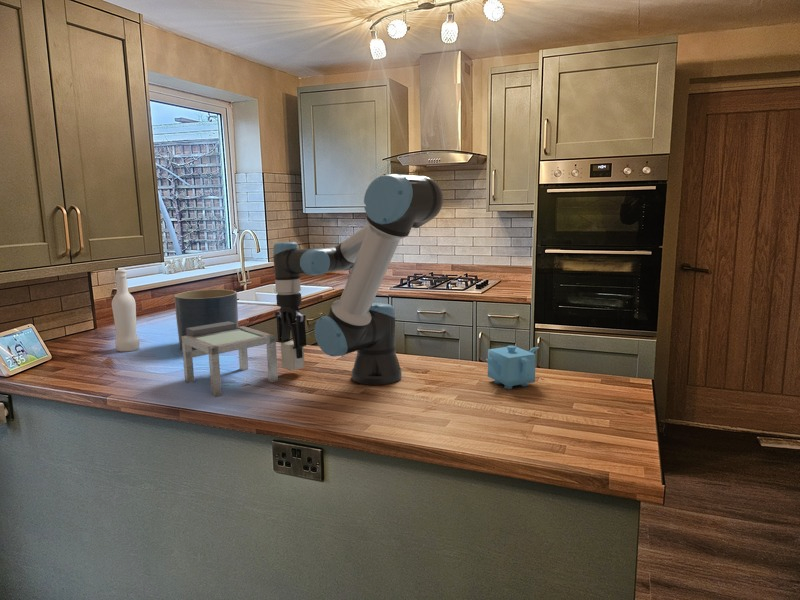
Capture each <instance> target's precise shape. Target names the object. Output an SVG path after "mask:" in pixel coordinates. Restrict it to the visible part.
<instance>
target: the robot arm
mask: <svg viewBox="0 0 800 600" xmlns="http://www.w3.org/2000/svg"><path fill="white" fill-rule="evenodd" d="M443 196H444V195H443V191H442V189H441V186H440V185H439V184H438V183H437V181H436V180H434V179H432V178H430V177H428V176H425V175H409V174H400V173H390V174H384V175H380V176H378V177H376V178H375V179H373V181H371V182H370V184H368V186H367V188H366V190H365V193H364V196H363V204H364V205H365V206H364V212H365V214H366V217H365V221H366V222H367V225H365V226H363V227H362V228H360V229H359V230H357V231H356V232H355V233H353V234H352V235H350V236H349V237H347V238H346V239H345V240H343V241H342V242H340V243H339V244H337V245H335V246H330V247H329V246H328V247H319V248H318V247H317V248H305V249H303V248H302V249H301V248H300V249H299V245H298V243H297V242H295V241H288V242H287V241H284V242H282V241H281V242H275V243H274V244H273V250H272V251H273V255H272V259H273V268H274V269H273V270H274V281H275V283H274V284H275V286H274V287H275V292H276V295H275V296H276V297H275V298H276V306H277V307H280V309H279V310H278V311H275V312H274V314H275V317H276V318H275V319H276V330H277V331H276V332H277V341H278V343H280V344H281V343H283V342H288V341H291V336H292V340H293V342H294V347H292V348H293V358H294V369H296V370H298V369H299V368H300V369H303V360H302V357H303V355H302V347H305V346H307V335H306V334H307V333H306V318H307V317H306V316H307V315H306V314H305V313H303V314H301V312H300V309H299V307H300V306H301V305H302V303H303V300H302V293H301V290H302V289H301V288H302V287H301V275H307V276H310V277H311V276H313V277H315V276H322V275H324V274H327V273H332V272H333V273H334V272H342V271H349V270H351V271H350V273H349V275H348V279H347V281H346V283H345V287H344V288H343V291H342V292H341V293H342V294H341V296H340V298H339V299H336V300H334V301H333V302H332V303H331V306H330V308H329V311H328V313H327V315H322V316H321V317H319V318H317V320H316V321H315V324H314V331H313V332H314V338H315V340H316V343H317V345H318V347H319V348H320V350H321V351H322V352H323V353H324V354H326V355H327V356H329V357H333V358H334V357H336V358H337V357H340V356H342V357H343V356H346V355H349V354H351V353H354V352H356V357H355V361H354V364H353V368H352V369H351V380H352V381H353V382H354V383H357V384H362V385H369V386H381V385H388V384H392V383H397V382H398V381H400V380H401V379H402V368H401V366H400V362H399V359H398V357H397V354H396V318H397V317H396V315H395V313H396V312H395V307H394V306H393V305H391V304H389V303H382V302H374V300H375V299H376V296H377V294H378V291H379V289H380V287H381V284H382V282H383V280H384V277H385V276H386V273H387V270H388V268H389V265H390V264H391V261H392V259H393V257H394V254H395V252H396V250H397V247H398V245H399V244H400V243H399V242H400V240H402V239H405V238H407V237H408V236H409V234H410V232H411V230H412V229H418V228H420V227H422V226H423V225H425V224H426V223H429V222H430V221H432V220H433V219H435V218H436V217H437V216H438V214H440V212H441V210H442V208H443V203H444V197H443ZM300 369H299V370H300Z"/></svg>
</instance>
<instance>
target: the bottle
mask: <svg viewBox="0 0 800 600" xmlns="http://www.w3.org/2000/svg"><path fill="white" fill-rule="evenodd" d="M114 275H115V276H114V277H115V283H116V285H115V286H116V293H115V295H114V296H113V298H112V300H111V310H112V315H113V320H114V321H113V322H114V328H115V335H116V336H115V341H114V343H115V349H116V350H117V352H120V353H125V352H127V353H128V352H133V351H137V350H138V349H140V345H141V344H140V339H139V338H140V337H139V336H138V333H137V310H136V309H137V307H136V306H137V304H136V300H135V298H134V296H133V294H131V292H129V288H128V280H127V278H128V277H127V270H126V269H123V268H122V269H117V270H115V274H114Z"/></svg>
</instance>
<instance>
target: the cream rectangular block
mask: <svg viewBox="0 0 800 600" xmlns="http://www.w3.org/2000/svg"><path fill="white" fill-rule="evenodd" d="M292 347H294V342H293V339H292V340H290V341H288V342H283V343H281V342H280V351H281V352H280V353H281V367H282V369H285V370H288V371H291V372H293V371H297V369H294V358H293V348H292ZM304 347H305V346H304ZM304 347H302V355H303V357H302V360H303V368H305V367H306V366H305V349H304ZM303 368H302V369H303ZM300 369H301V368H299V370H300Z"/></svg>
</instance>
